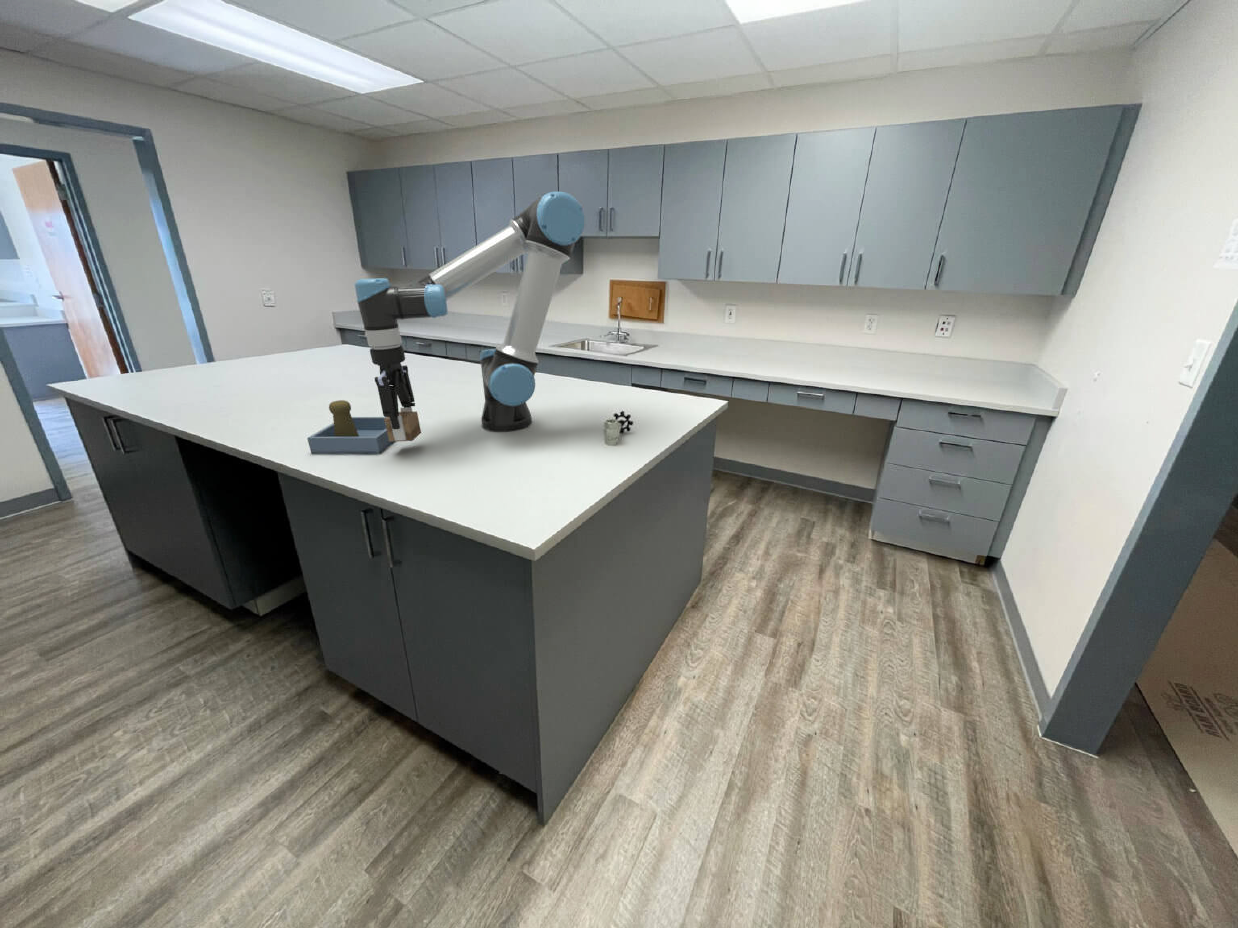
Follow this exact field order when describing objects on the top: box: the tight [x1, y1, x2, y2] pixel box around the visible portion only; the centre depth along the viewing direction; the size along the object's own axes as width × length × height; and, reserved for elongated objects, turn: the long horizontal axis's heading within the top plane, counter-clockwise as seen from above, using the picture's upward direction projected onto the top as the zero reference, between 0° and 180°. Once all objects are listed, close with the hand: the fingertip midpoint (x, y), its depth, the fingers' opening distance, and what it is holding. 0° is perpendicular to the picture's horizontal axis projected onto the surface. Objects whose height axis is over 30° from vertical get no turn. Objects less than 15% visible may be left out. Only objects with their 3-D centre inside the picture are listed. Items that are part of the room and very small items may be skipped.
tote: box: [306, 416, 396, 455], centre depth 135 cm, size 18×18×4 cm
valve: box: [603, 410, 634, 447], centre depth 137 cm, size 7×7×12 cm
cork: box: [328, 399, 359, 437], centre depth 133 cm, size 6×6×11 cm
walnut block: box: [384, 411, 422, 442], centre depth 127 cm, size 6×6×6 cm
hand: (406, 435), depth 128 cm, fingers closed on walnut block, 6 cm apart
